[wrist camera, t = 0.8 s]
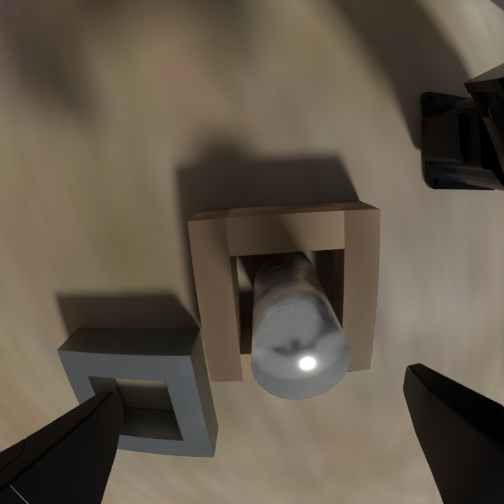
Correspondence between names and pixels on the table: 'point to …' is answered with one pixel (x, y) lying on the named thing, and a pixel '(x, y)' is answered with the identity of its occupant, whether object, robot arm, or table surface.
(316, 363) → the metal cylinder peg
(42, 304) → the table surface
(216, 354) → the socket block
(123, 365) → the block
